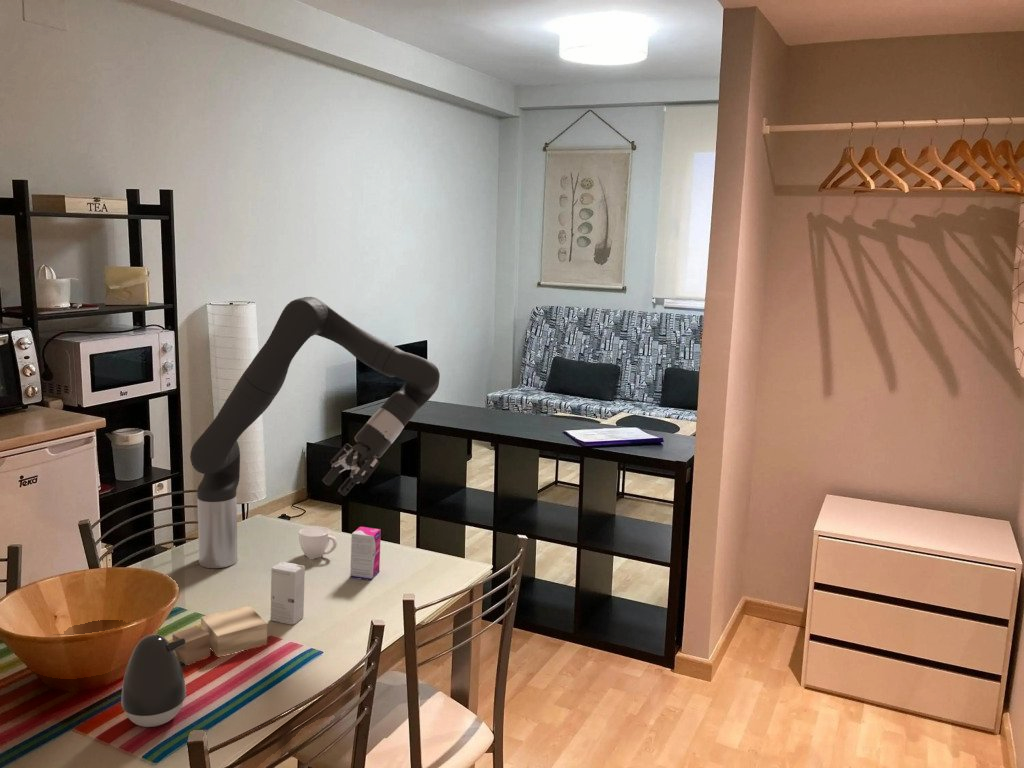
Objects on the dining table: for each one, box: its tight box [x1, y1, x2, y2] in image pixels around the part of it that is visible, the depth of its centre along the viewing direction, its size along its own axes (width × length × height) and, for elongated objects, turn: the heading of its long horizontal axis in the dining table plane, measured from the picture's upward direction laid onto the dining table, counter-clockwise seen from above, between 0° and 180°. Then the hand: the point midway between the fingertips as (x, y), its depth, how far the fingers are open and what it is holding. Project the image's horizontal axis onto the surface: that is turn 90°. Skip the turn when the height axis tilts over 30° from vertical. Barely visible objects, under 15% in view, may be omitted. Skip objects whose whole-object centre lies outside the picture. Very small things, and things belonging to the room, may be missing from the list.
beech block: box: [200, 605, 268, 658], centre depth 171 cm, size 10×10×5 cm
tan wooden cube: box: [171, 625, 211, 665], centre depth 164 cm, size 5×5×5 cm
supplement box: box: [349, 526, 382, 581], centre depth 206 cm, size 6×6×12 cm
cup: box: [298, 525, 338, 559], centre depth 217 cm, size 8×10×7 cm
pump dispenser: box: [120, 633, 187, 728], centre depth 142 cm, size 10×10×15 cm
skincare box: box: [269, 561, 306, 626], centre depth 181 cm, size 6×4×12 cm
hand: (333, 488), depth 186 cm, fingers open, 8 cm apart
